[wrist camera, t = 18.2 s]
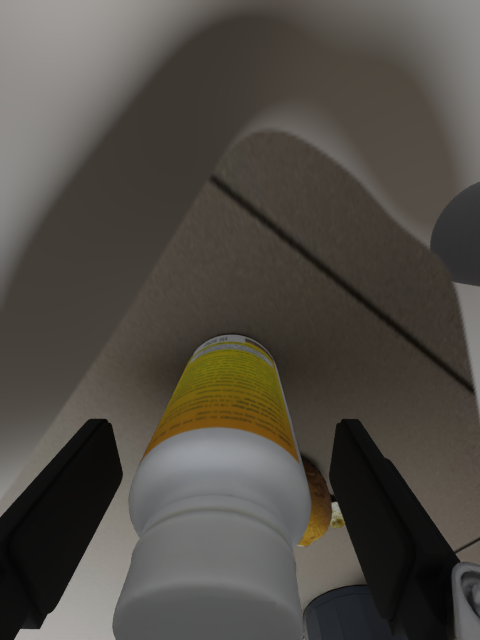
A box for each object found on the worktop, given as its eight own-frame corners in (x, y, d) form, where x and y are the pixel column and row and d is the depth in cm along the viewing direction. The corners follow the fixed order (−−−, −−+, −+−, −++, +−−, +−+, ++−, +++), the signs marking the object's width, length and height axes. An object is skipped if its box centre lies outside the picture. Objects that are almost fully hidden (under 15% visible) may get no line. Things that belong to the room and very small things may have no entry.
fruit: (252, 535, 19) (254, 600, 16) (219, 464, 17) (212, 521, 13) (351, 516, 18) (376, 580, 15) (331, 438, 16) (356, 492, 12)
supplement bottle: (175, 343, 14) (10, 579, 4) (265, 321, 13) (325, 531, 3) (203, 416, 15) (135, 709, 6) (284, 399, 15) (361, 689, 5)
